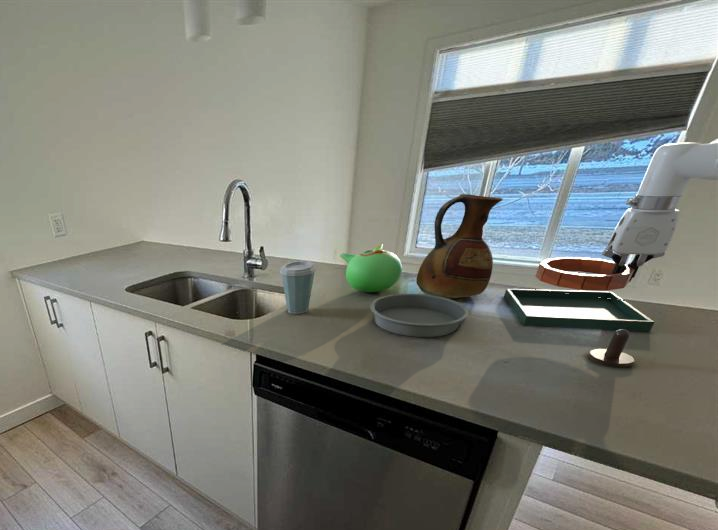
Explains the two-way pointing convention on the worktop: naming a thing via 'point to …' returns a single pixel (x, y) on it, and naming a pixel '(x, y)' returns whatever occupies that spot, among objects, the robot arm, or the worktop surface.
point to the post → (614, 352)
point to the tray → (576, 310)
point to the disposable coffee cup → (297, 285)
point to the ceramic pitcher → (459, 253)
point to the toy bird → (372, 269)
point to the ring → (556, 275)
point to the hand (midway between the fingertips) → (620, 279)
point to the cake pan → (418, 314)
